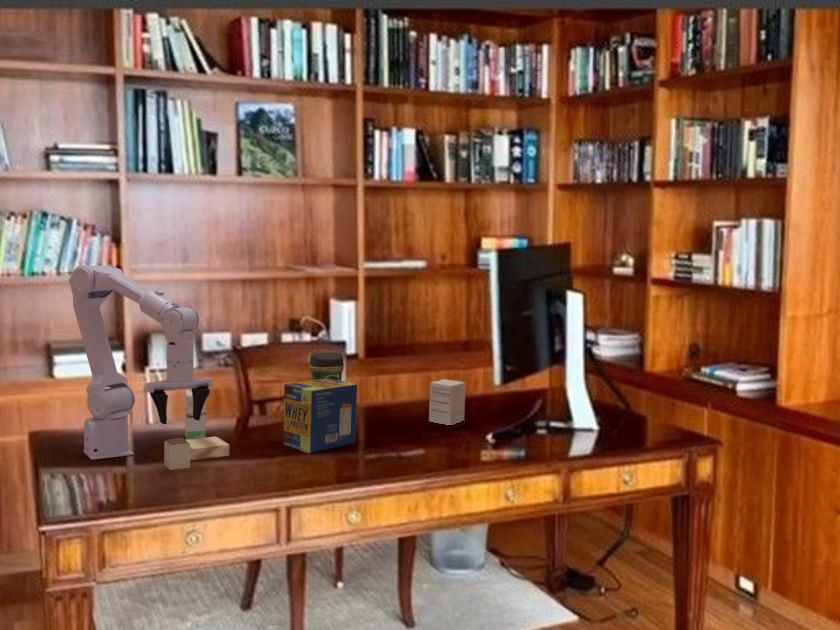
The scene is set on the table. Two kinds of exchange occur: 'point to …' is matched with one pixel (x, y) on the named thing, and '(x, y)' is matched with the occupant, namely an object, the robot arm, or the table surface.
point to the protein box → (319, 414)
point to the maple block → (207, 448)
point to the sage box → (176, 454)
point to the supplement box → (447, 402)
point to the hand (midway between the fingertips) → (180, 421)
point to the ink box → (193, 426)
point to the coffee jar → (326, 365)
